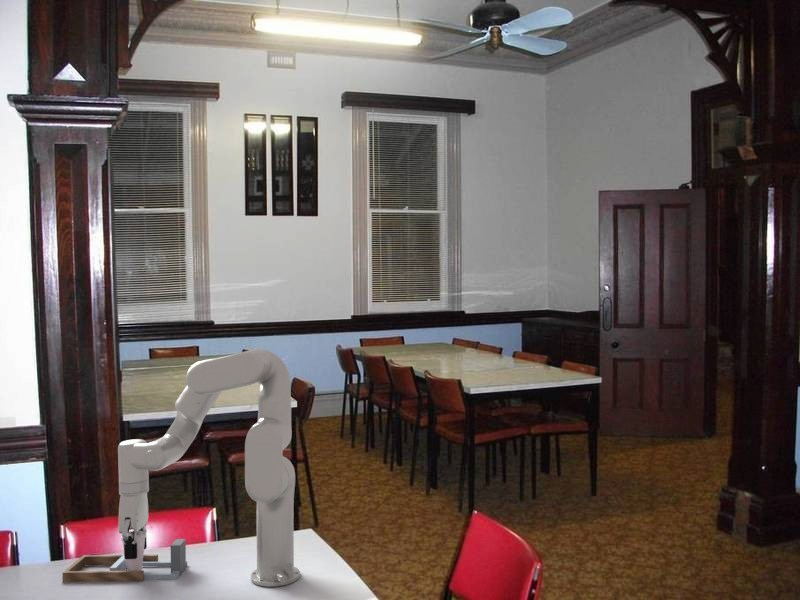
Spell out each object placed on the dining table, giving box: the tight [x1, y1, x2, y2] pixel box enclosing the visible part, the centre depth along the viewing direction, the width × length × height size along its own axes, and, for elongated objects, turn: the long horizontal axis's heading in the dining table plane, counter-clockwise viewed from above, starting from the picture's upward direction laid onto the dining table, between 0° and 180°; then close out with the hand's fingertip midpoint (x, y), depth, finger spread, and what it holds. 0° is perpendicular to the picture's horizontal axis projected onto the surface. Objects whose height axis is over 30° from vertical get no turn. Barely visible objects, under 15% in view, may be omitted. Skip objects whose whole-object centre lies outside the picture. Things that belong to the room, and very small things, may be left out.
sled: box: [109, 538, 188, 580], centre depth 193 cm, size 18×9×8 cm, turn 90°
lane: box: [62, 554, 159, 583], centre depth 193 cm, size 21×12×2 cm, turn 90°
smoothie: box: [120, 531, 147, 571], centre depth 193 cm, size 6×6×14 cm
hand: (135, 553), depth 193 cm, fingers closed on smoothie, 6 cm apart
